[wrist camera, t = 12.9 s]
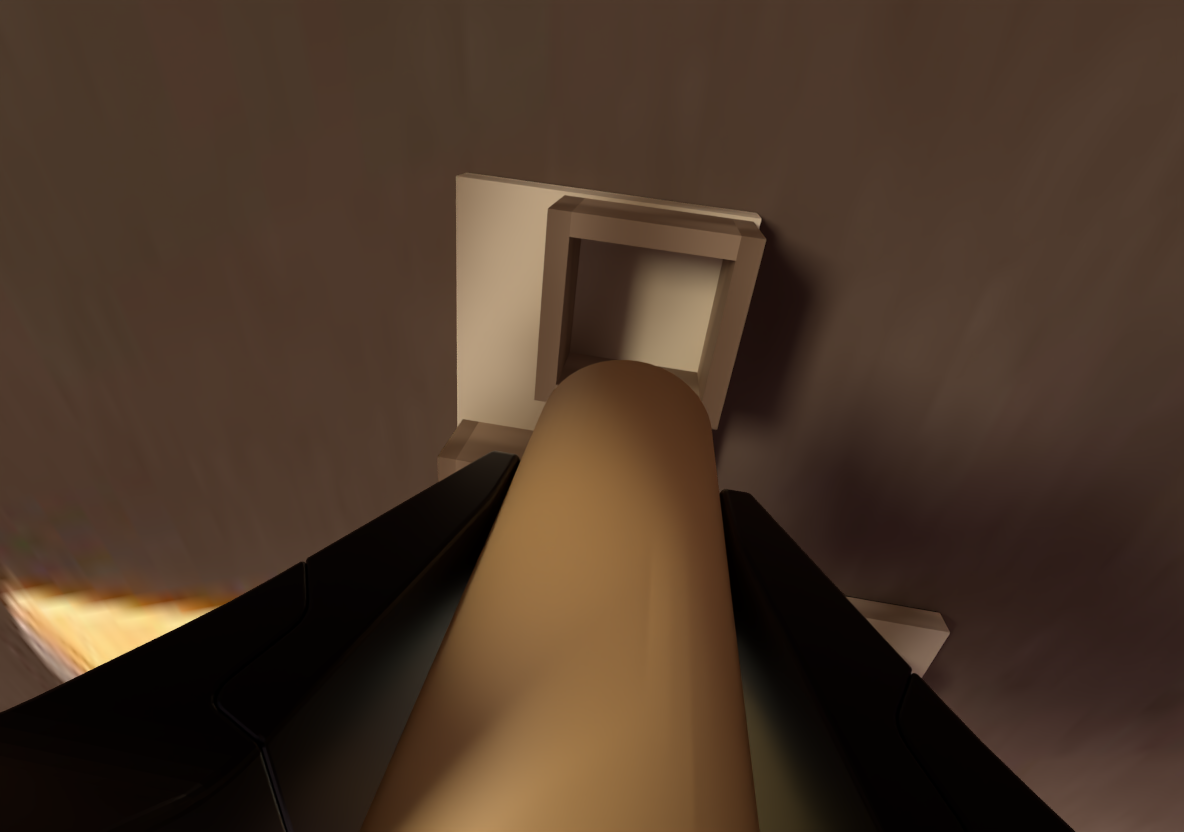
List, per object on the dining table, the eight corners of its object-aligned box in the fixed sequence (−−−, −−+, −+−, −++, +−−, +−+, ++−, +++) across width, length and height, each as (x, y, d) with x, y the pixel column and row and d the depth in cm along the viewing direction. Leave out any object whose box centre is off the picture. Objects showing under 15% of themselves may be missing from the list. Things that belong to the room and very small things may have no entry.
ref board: (939, 612, 23) (976, 682, 20) (834, 787, 29) (851, 858, 27) (486, 533, 24) (461, 589, 21) (481, 718, 30) (462, 780, 28)
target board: (757, 213, 17) (818, 288, 10) (672, 554, 23) (672, 745, 16) (467, 172, 17) (325, 216, 10) (466, 519, 24) (380, 689, 17)
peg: (692, 521, 10) (719, 1106, 4) (534, 494, 11) (342, 1020, 4) (730, 375, 9) (856, 952, 3) (545, 346, 9) (285, 831, 3)
